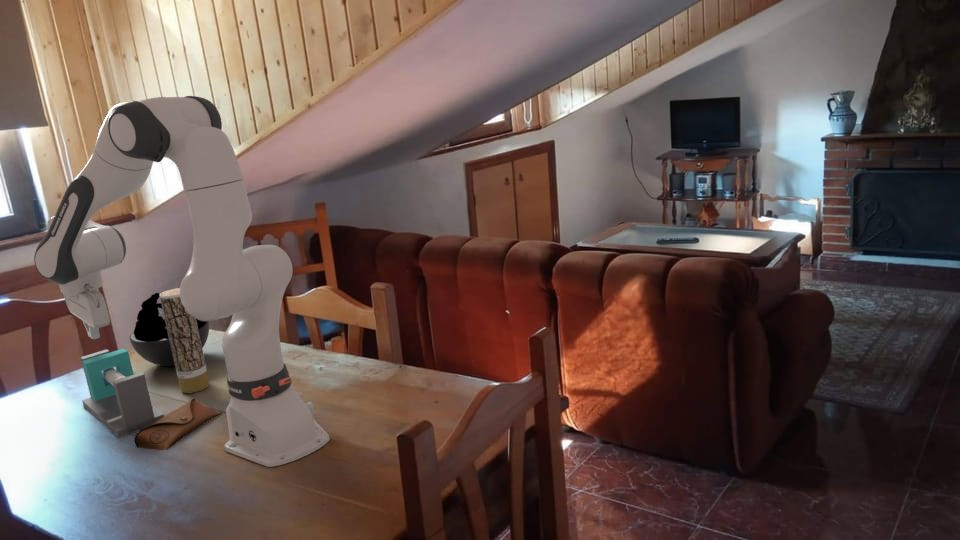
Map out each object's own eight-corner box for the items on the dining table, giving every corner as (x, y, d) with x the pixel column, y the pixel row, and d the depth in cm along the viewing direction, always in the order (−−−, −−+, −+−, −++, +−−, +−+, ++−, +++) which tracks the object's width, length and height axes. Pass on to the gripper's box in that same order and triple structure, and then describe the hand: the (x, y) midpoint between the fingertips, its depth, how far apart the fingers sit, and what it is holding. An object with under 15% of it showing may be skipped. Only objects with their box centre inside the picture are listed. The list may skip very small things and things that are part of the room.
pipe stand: (165, 420, 166) (153, 371, 163) (118, 438, 160) (106, 387, 156) (126, 391, 185) (115, 346, 182) (83, 406, 178) (71, 360, 175)
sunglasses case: (166, 451, 151) (147, 424, 151) (147, 463, 154) (129, 437, 154) (224, 411, 167) (207, 387, 167) (206, 423, 171) (189, 400, 170)
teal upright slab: (136, 387, 175) (128, 351, 173) (95, 401, 169) (86, 364, 167) (132, 384, 177) (123, 348, 175) (91, 397, 171) (82, 361, 169)
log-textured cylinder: (203, 393, 179) (182, 295, 172) (176, 395, 179) (154, 297, 172) (213, 381, 185) (194, 286, 179) (187, 383, 186) (166, 289, 179)
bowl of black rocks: (211, 369, 193) (197, 301, 188) (130, 383, 189) (113, 314, 184) (219, 344, 212) (206, 281, 207) (145, 356, 208) (130, 293, 203)
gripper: (109, 285, 164) (123, 342, 168) (82, 271, 179) (95, 324, 183) (79, 292, 160) (93, 351, 164) (54, 278, 175) (67, 332, 179)
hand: (94, 337), depth 173 cm, fingers closed
